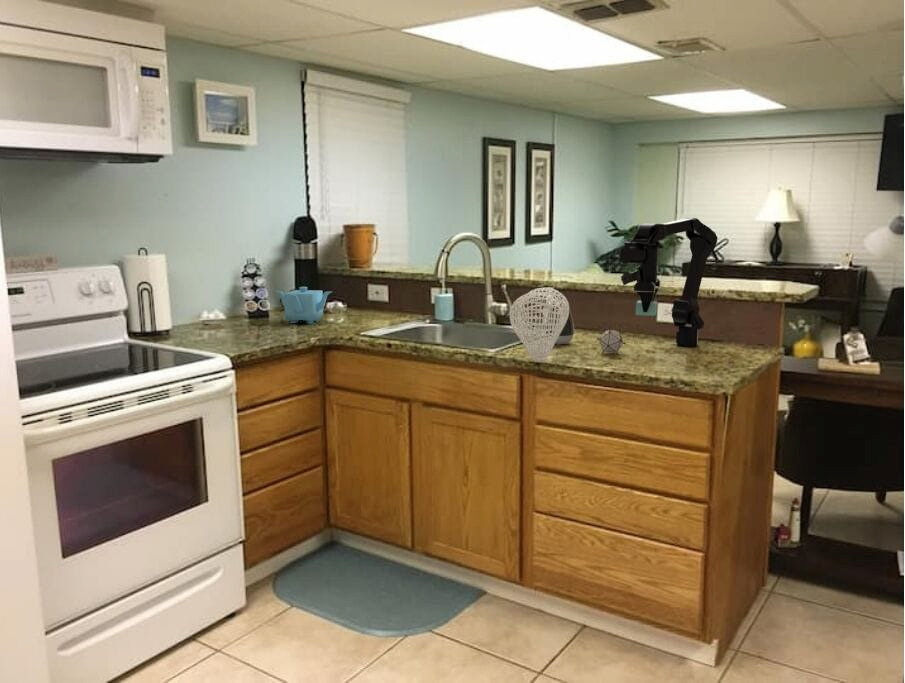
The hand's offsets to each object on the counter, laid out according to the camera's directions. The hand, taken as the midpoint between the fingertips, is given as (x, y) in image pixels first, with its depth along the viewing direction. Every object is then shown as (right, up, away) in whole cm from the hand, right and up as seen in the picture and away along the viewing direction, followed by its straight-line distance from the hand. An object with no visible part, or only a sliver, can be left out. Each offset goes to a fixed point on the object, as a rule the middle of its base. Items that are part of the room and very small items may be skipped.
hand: (646, 311), depth 253 cm
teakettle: (-125, -2, +69) cm, 143 cm away
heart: (-36, -17, -15) cm, 43 cm away
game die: (-12, -14, -1) cm, 18 cm away
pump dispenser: (-26, -11, +17) cm, 33 cm away
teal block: (0, -1, 0) cm, 1 cm away
